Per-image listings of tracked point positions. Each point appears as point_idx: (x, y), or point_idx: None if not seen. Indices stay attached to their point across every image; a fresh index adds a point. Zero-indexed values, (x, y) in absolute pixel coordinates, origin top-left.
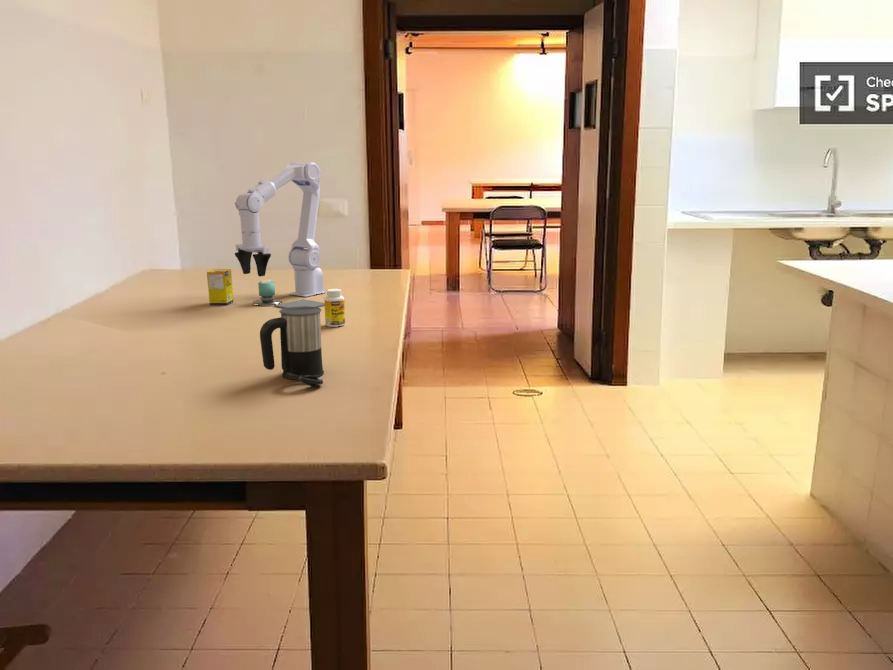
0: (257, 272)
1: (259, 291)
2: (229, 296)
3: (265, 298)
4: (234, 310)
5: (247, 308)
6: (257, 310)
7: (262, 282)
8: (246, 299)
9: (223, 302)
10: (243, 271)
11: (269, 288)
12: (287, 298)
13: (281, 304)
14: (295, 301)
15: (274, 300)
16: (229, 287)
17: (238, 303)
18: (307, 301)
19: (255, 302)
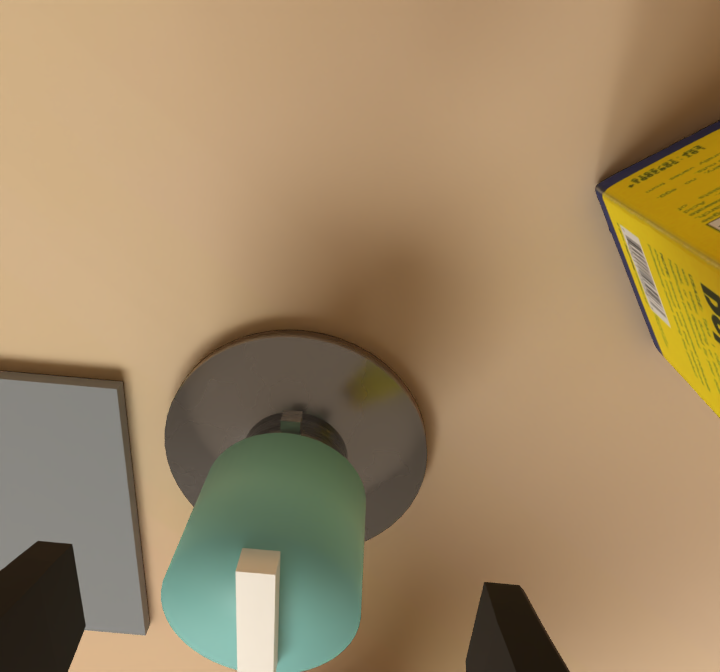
0: (27, 591)
1: (301, 468)
2: (653, 288)
3: None
4: (300, 27)
5: (268, 193)
6: (94, 177)
7: (238, 565)
8: (617, 478)
9: (645, 170)
10: (514, 618)
11: (183, 534)
12: None
13: (93, 436)
14: (115, 561)
15: None
16: (713, 357)
17: (555, 322)
18: None
19: (362, 381)
